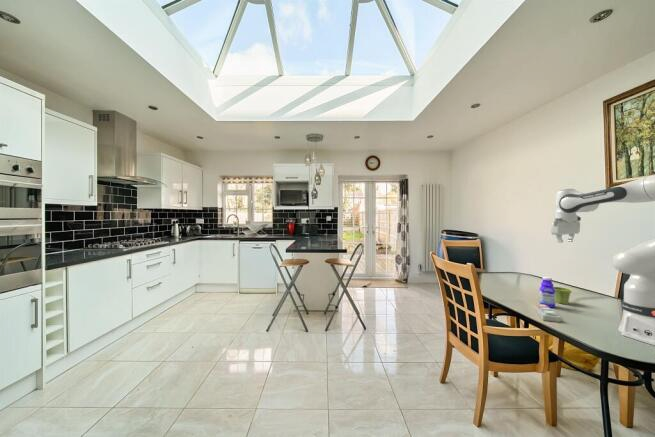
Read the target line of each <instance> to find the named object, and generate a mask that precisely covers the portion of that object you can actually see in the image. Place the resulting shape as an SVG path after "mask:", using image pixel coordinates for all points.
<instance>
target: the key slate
mask: <svg viewBox="0 0 655 437" xmlns="http://www.w3.org/2000/svg"><path fill="white" fill-rule="evenodd" d="M540 310H541V311H542V312H543V310H547V311H552V310H553V309H551V307H549V308H545V307H540Z"/></svg>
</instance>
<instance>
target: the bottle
mask: <svg viewBox="0 0 655 437" xmlns="http://www.w3.org/2000/svg"><path fill="white" fill-rule="evenodd" d="M553 287H555V285H554V284H553V281H552V277H550V276H542V282H541V283H540V287H539V289H538V290H539V304H542V305H546V306H548V307H549V308H555V307H556V302H555V289H554V288H553Z"/></svg>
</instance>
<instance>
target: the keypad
mask: <svg viewBox="0 0 655 437" xmlns="http://www.w3.org/2000/svg"><path fill="white" fill-rule="evenodd" d="M548 308H550V307H548ZM532 310H533V311H534V312H535V313H536V315H537V316H539V318H540V319H542V321H547V322H556V323H561V316H559V314H557V313H556V312H555V311H554V310H553V309H551V310H552V311H553V312H554V313H555V314H556V316H549V315H545V314H544V313H543V312H542V311H541V310H540V309H539V308H538V307H537V304H536V305H535V304H532Z"/></svg>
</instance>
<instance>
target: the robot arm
mask: <svg viewBox="0 0 655 437" xmlns="http://www.w3.org/2000/svg"><path fill="white" fill-rule="evenodd" d="M554 202H555V208H556V210H555V213H554V215H555V216H554V220H553V221H552V223H551V230H550V232H551V234H552V235H553V236H554V235H555V237H556V239H557V243H562V244H563V243H564V240H563V235H568V238H567V242H569V243H573V242H574V238H575V235H576V234H578V235H579V234H580V232H581V221H582V217H581V216H579V215H578V214H577V213H590V212H594V211H595V210H597V209H598V208H599V205H600V204H607V203H628V204H630V203H631V204H634V203H637V204H638V203H651V202H655V174H654V175H649V176H645V177H642V178H637V179H635V180H632V181H628V182H625V183H622V184H619V185H615V186H612V187H609V188H604V189H600V190H596V191H591V192H587V193H583V192H580V191H578V190H576V189H574V188H567V189H561V190H558V191H557V193H556V195H555V201H554ZM611 263H612V266H613V268H615V269H616V270H617V271H618V272H620V273H623V274H627V275H629V278H628V279H627V280H626V281H625V283H624V284H623V300H622V303H621V304H622V306H621V307H622V317H621V321H620V324H619V327H618V328H617V330H618V331H619V332H620V333H621V335H622V336H624V337H627V338H631V339H632V340H637V341H640V342H643V343H646V344H649V345H652V346H654V347H655V237H652V238H651V239H649V240H646V241H644V242H641V243H639V244H637V245H635V246H632V247H630V248H628V249H626V250H624V251H621V252H619V253H617V254H615V255H613V257H612V260H611Z"/></svg>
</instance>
